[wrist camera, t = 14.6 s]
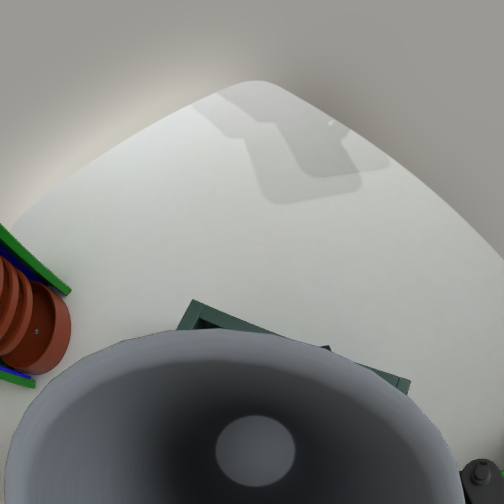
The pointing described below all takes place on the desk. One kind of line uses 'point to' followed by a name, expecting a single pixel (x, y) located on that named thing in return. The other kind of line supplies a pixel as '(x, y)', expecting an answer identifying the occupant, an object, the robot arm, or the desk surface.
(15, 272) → the coaster caddy
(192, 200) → the desk surface
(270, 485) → the cup
